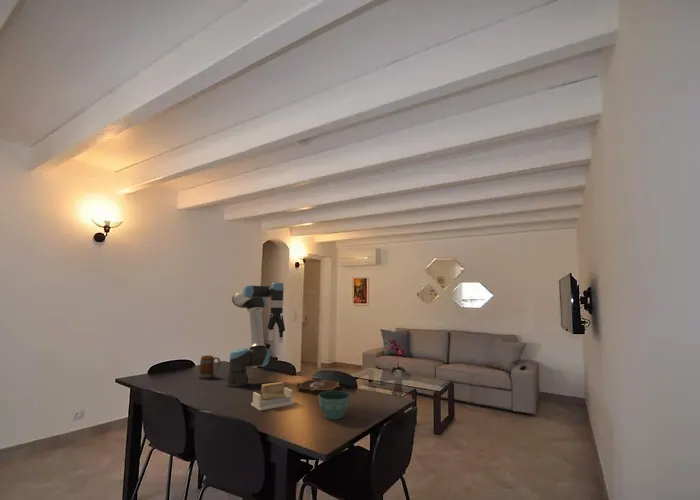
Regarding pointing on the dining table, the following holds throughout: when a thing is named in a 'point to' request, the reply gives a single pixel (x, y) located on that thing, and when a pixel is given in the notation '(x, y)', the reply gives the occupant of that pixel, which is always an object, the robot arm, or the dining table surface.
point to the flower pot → (334, 403)
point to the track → (272, 401)
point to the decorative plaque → (318, 386)
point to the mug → (208, 367)
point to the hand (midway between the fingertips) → (275, 341)
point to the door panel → (272, 391)
